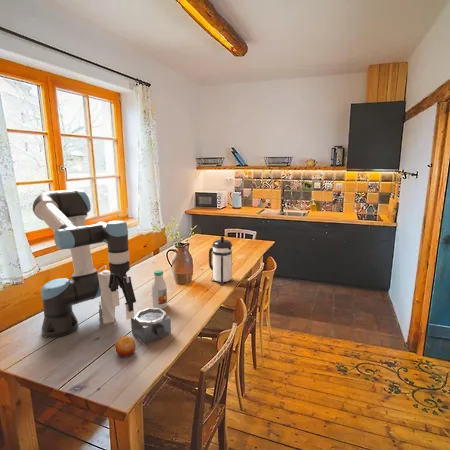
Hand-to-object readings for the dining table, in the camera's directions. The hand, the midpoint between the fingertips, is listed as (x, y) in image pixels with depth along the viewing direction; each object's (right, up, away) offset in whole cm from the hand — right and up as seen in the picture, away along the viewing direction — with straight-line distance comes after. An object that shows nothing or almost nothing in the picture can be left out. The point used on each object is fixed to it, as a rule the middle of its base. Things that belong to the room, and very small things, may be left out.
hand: (122, 311), depth 125 cm
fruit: (0, -18, +4) cm, 19 cm away
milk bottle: (+6, -10, +45) cm, 46 cm away
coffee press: (+38, -2, +81) cm, 89 cm away
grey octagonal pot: (+8, -15, +18) cm, 25 cm away
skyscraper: (-17, -13, +30) cm, 37 cm away
